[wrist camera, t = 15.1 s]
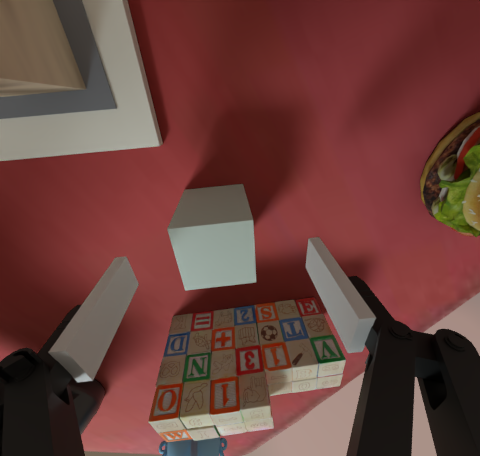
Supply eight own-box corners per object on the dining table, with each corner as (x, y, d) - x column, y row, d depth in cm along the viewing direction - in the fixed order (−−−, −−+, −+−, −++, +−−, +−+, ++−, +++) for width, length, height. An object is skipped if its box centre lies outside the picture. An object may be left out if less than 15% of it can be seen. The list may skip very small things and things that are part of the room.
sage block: (195, 238, 24) (185, 290, 18) (184, 189, 21) (167, 229, 15) (246, 233, 25) (256, 282, 18) (242, 183, 22) (253, 220, 15)
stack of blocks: (315, 294, 31) (364, 392, 20) (312, 321, 34) (353, 417, 24) (171, 315, 31) (146, 425, 20) (182, 340, 34) (165, 446, 23)
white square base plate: (4, 158, 19) (-10, 162, 17) (-178, -133, 11) (-227, -162, 10) (162, 143, 19) (159, 146, 18) (90, -148, 11) (75, -177, 10)
